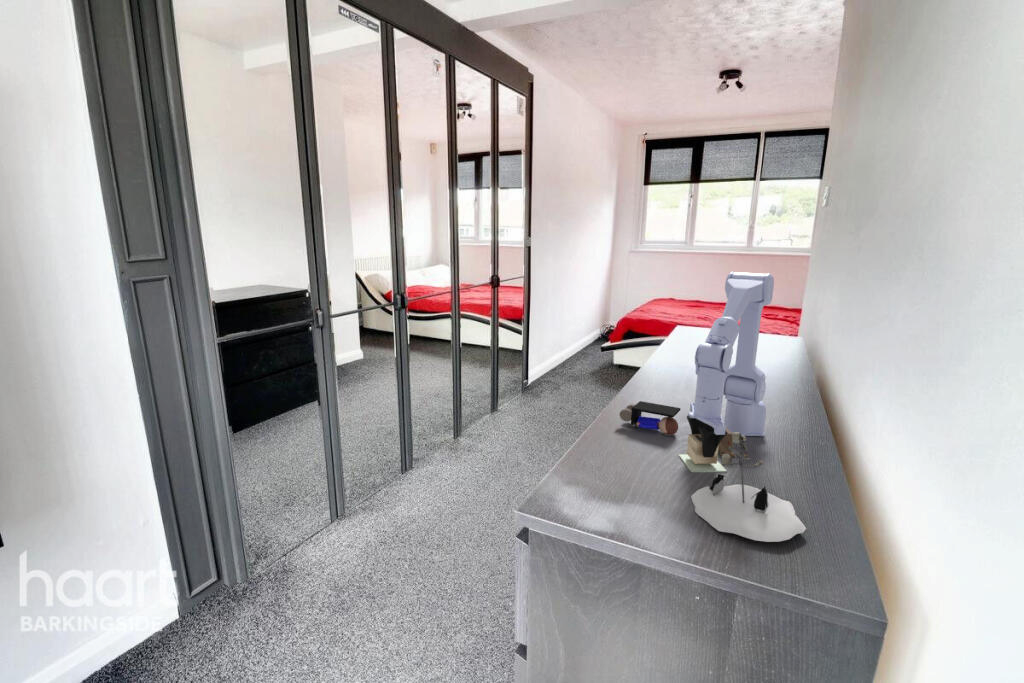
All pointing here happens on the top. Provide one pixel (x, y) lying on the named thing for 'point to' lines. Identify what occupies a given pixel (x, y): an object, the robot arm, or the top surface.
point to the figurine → (746, 506)
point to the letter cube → (699, 450)
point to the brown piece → (726, 444)
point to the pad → (701, 465)
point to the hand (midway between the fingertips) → (703, 451)
